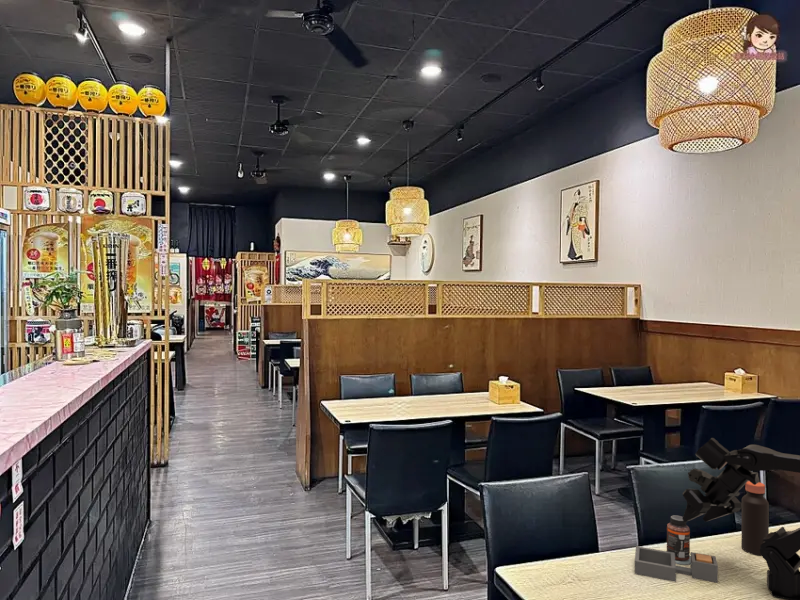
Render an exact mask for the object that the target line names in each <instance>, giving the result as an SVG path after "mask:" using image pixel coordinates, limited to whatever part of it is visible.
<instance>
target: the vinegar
mask: <svg viewBox="0 0 800 600" xmlns="http://www.w3.org/2000/svg"><path fill="white" fill-rule="evenodd" d="M744 486H745V492H746V493H745V494H744V495H743V496H742V498H741V505H742V508H741V541H740V543H741V549H742V550H743V551H744V552H746V553H748V554H751V555H755V556H762V555H761V553H760V546H761V544H762V543H763V542H764V541H763V539H764V538H765V537H766V536H767V535H768V534H769V533H770V529H769V525H770V524H769V523H770V521H769V520H770V518H769V517H770V515H769V514H770V513H769V512H770V504H769V501H768V500H767V499H766V498H765V496H764V495H765V494H766V485H765V484H764V483H762V482H759V483H757V484H756V485H754V484H752V483H751V482H750V481H748V482H747V483H746V484H745V485H744Z"/></svg>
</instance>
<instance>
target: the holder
mask: <svg viewBox="0 0 800 600" xmlns="http://www.w3.org/2000/svg"><path fill="white" fill-rule="evenodd" d="M696 553H697V554H702V555H706V554H703V553H700V552H699V553H698V552H695V551H694V552H693V551H690V556H691V564H690V567H687V566H683V565H677V564H675V553H673V552H667V550H660V549H656V548H650V547H643V546H637V545H636V546H635V555H634V574H635V575H638V576H645V577H650V578H654V579H660V580H665V581H670V582H674V583H676V582H677V574H680V575H686V576H691V578H692V579H694V580H701V581H706V582H711V583H716V584H718V580H719V579H718V577H719V574H718V573H719V567H718V561H717V557H716V555H711V554H710V555H709V554H707V555H708V556H711V559H712V563H706V562H700V561H696Z"/></svg>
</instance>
